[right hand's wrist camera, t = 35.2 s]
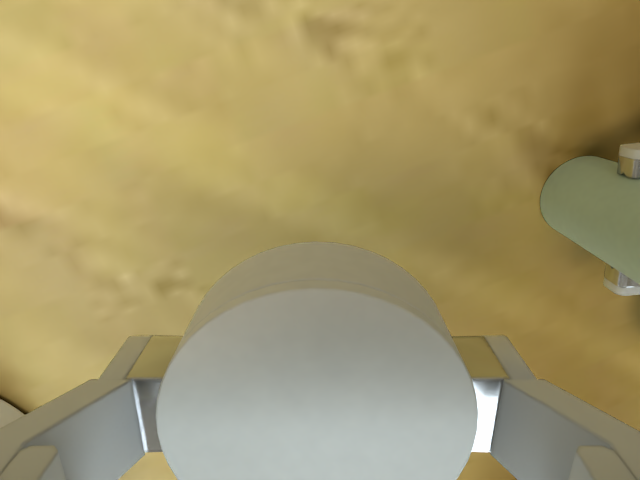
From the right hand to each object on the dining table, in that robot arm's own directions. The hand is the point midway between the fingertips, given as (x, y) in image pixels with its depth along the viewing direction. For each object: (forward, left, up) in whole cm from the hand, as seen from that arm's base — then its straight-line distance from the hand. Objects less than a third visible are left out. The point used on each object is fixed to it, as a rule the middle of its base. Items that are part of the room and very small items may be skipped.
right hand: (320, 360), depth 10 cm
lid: (0, 0, +2) cm, 2 cm away
